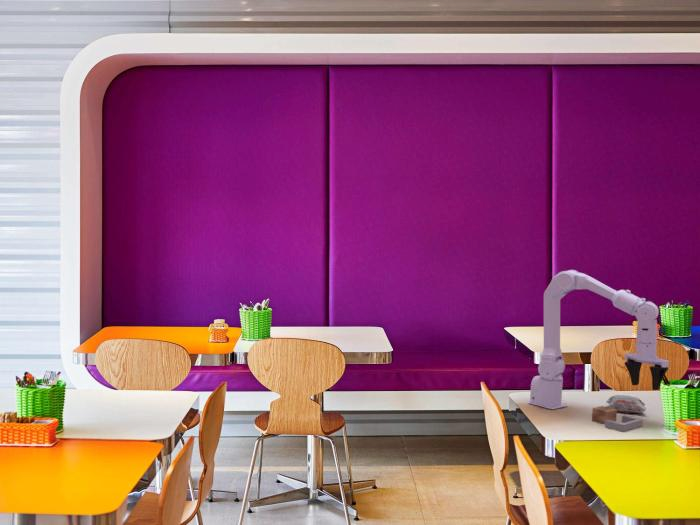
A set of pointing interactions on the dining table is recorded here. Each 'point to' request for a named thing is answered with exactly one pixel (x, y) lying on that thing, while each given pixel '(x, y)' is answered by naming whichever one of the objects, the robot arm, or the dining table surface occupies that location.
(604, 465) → the dining table surface
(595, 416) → the wooden cube block
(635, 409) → the packaged food
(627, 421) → the purple-grey c-shaped block
